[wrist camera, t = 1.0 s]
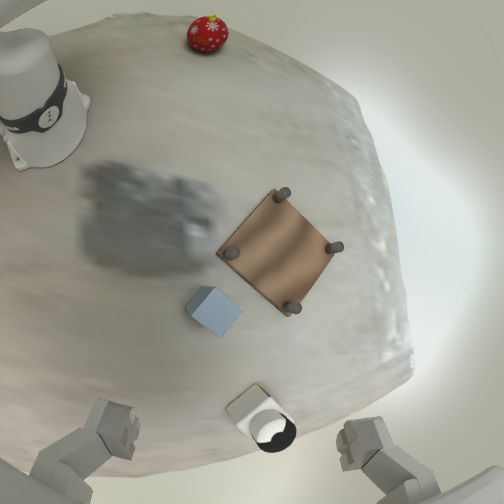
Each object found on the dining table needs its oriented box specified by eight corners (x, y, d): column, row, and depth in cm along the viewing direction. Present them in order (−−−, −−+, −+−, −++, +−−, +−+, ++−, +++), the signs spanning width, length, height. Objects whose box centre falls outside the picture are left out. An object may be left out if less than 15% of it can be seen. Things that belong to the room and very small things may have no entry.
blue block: (184, 307, 43) (191, 316, 32) (202, 286, 44) (215, 287, 34) (206, 326, 43) (219, 339, 33) (224, 304, 45) (243, 310, 34)
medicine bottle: (279, 406, 45) (310, 434, 34) (249, 430, 43) (274, 465, 32) (255, 382, 45) (284, 408, 33) (224, 408, 43) (244, 441, 31)
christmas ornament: (176, 46, 47) (182, 13, 37) (202, 31, 49) (211, 1, 40) (205, 64, 48) (215, 31, 39) (230, 48, 51) (243, 17, 41)
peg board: (215, 254, 45) (222, 250, 40) (271, 191, 49) (282, 181, 45) (286, 316, 48) (299, 319, 43) (332, 251, 52) (348, 248, 47)
